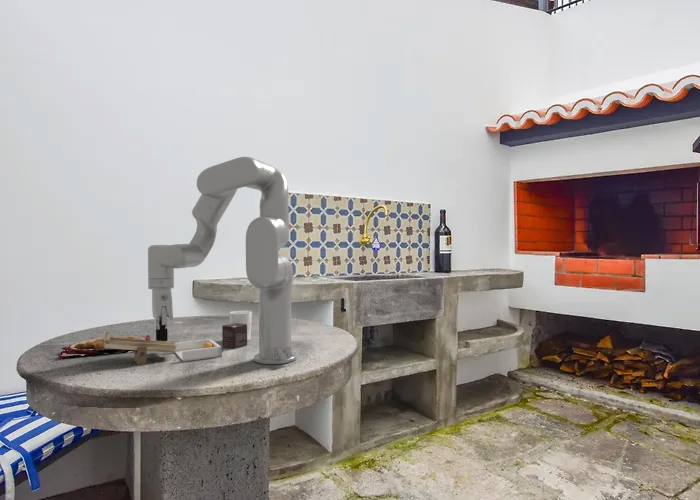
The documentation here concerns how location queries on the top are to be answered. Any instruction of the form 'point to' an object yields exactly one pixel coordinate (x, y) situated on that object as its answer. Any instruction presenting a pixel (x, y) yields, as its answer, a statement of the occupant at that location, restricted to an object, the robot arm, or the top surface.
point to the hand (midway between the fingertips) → (161, 341)
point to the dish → (197, 350)
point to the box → (234, 335)
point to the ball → (207, 345)
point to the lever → (138, 344)
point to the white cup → (242, 320)
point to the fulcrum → (140, 355)
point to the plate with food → (94, 346)
